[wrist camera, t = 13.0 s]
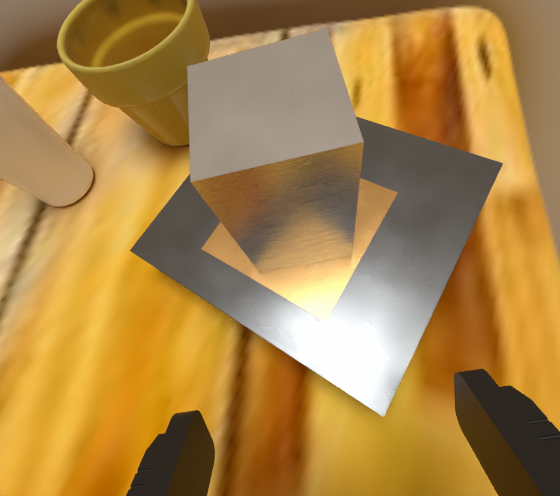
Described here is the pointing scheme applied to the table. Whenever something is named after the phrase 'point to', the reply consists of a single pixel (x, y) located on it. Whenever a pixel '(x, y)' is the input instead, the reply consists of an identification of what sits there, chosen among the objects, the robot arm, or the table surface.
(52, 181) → the white tube
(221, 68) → the aluminium block
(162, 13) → the plant pot
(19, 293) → the table surface
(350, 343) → the steel plate
